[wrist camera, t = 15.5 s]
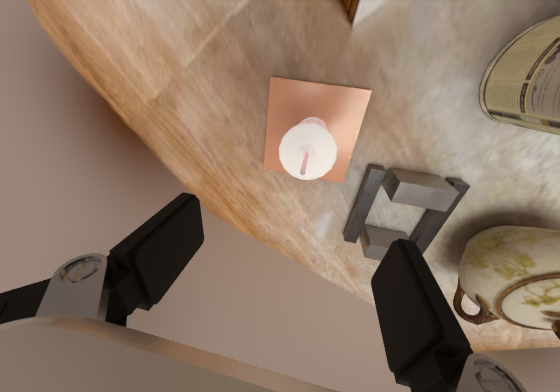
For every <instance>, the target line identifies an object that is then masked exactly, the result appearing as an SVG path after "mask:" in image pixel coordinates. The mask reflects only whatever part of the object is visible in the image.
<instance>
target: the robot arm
mask: <svg viewBox="0 0 560 392" xmlns="http://www.w3.org/2000/svg"><path fill="white" fill-rule="evenodd" d="M203 241H204V234H203V225H202V218H201V210H200V201H199V199H198V198H197V197H196V195H194V194H189V193H181V194H180V195H179V196H178V197H176V198H175V199H174V200H173V201H171V202H170V203H169V204H167V206H165V207H164V208H163V209H161V210H160V211H159V212H158V213H156V214H155V215H154V216H152V217H151V218H150V219H149V220H147V221H146V222H145V223H144V224H142V225H141V226H140V227H139V228H137V229H136V230H135V231H134V232H132V233H131V234H130V235H129V236H127V237H126V238H125V239H124V240H122V241H121V242H120V243H119V244H117V245H116V246H115V247H114V248H113V249H111V250H110V251H109V252H110V254H109V255H108V256H107V257H105V256H104V255H102V254H100V253H91V254H85V255H82V256H78V257H76V258H74V259H72V260H70V261H68V262H66V263H65V264H63V265H62V266H61V267H60V268H59V269H57V270H56V272H55V273H54V275H53V276H52V278H50V279H47V280H43V281H40V282H37V283H33V284H30V285H27V286H24V287H20V288H17V289H13V290H10V291H7V292H4V293H0V392H338V391H335V390H332V389H329V388H325V387H322V386H319V385H316V384H312V383H309V382H306V381H302V380H299V379H296V378H293V377H290V376H287V375H283V374H280V373H277V372H274V371H270V370H267V369H264V368H260V367H257V366H254V365H251V364H247V363H244V362H241V361H238V360H234V359H231V358H227V357H224V356H221V355H218V354H214V353H211V352H208V351H204V350H201V349H198V348H195V347H191V346H188V345H184V344H181V343H178V342H174V341H171V340H167V339H164V338H161V337H158V336H154V335H151V334H147V333H144V332H141V331H137V330H134V329H131V320H132V313H133V311H134V310H135V309H136V308H140V309H143V310H147V311H149V310H150V308H151V307H152V306H153V305H154V304H157V303H158V302H159V301H160V300H161V299H162V297H163V296H164V294H165V293H166V292H167V291H168V289H169V288H170V287H171V285H172V284H173V283H174V281H175V280H176V279H177V277H178V276H179V275H180V273H181V272H182V270H183V269H184V268H185V266H186V265H187V264H188V262H189V261H190V259H191V258H192V257H193V256H194V254H195V253H196V252H197V250H198V249H199V248H200V246H201V245H202V244H203ZM371 286H372V291H373V296H374V300H375V305H376V310H377V314H378V319H379V324H380V328H381V333H382V338H383V342H384V347H385V351H386V356H387V361H388V365H389V369H390V371H391V372H393V373H394V376H395V380H396V383H398V384H401V385H404V386H408V387H410V388H411V392H527V391H526V390H525V388H524V387H523V385H522V384H521V383H520V382H519V381H518V380H517V378H516V377H515V376H514V375H513V374H512V373H511V372H510V371H509V370H507V369H506V368H505V367H504V366H503V365H501V364H500V363H499V362H497V361H495V360H494V359H492V358H490V357H488V356H486V355H484V354H479V353H473V351H472V349H471V347H470V343H469V341H468V339H467V338H466V336H465V334H464V332H463V330H462V328H461V326H460V325H459V323H458V321H457V319H456V317H455V315H454V313H453V311H452V310H451V308H450V306H449V304H448V302H447V300H446V298H445V297H444V295H443V293H442V291H441V289H440V287H439V285H438V284H437V282H436V280H435V278H434V276H433V274H432V272H431V270H430V269H429V267H428V265H427V263H426V261H425V259H424V257H423V256H422V254H421V252H420V250H419V248H418V246H417V244H416V243H415V242H414V241H411V240H406V239H401V238H399V239H397V241H393V242H392V243H391V245H390V247H389V249H388V250H387V252H386V254H385V256H384V257H383V259H382V261H381V263H380V265H379V266H378V268H377V270H376V272H375V273H374V275H373V277H372V280H371Z"/></svg>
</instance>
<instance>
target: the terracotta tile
mask: <svg viewBox="0 0 560 392" xmlns="http://www.w3.org/2000/svg"><path fill="white" fill-rule="evenodd" d="M371 92H372V90H367V89H359V88H352V87H344V86H337V85H329V84H322V83H314V82H307V81H299V80H292V79H284V78H277V77H270V84H269V98H268V112H267V125H266V139H265V152H264V166H263V168H265V169H270V170H276V171H281V172H286V173H289V172H287V171H286V170H285V169H284V167H283V165H282V163H281V161H280V159H279V146H280V144H281V141H282V138H283V136H284V135H285V134H286V133H287V132H288V131H289V130H290V129H291V128H292V127H294V126H296V125H298V124H299V123H300V122H302V121H303V120H304V119H306V118H309V117H316V118H319V119H321V120H322V121H323V122H324V123H325V124H326V126H327V128H328V131H329V132H330V133H331V134H332V135H333V137H334V140H335V143H336V146H337V155H336V161H335V163H334V164H333V166H332V168H331V170H329V171H328V172H327V173H326V174H325V175H323V176H322V177H319V179H324V180H330V181H335V182H341V183H343V181H344V178H345V175H346V172H347V169H348V165H349V162H350V159H351V156H352V153H353V149H354V146H355V143H356V140H357V137H358V134H359V130H360V127H361V124H362V121H363V118H364V114H365V111H366V108H367V105H368V102H369V98H370V95H371Z"/></svg>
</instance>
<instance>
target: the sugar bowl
mask: <svg viewBox="0 0 560 392" xmlns="http://www.w3.org/2000/svg"><path fill="white" fill-rule="evenodd" d="M458 272H459V278H458V286H457V290H456V293H455V296H454V299H453V306H454V309H455V311H456V312H457V314H458V315H459V316H460V317H461V318H463V319H464V320H466V321H468V322H470V323H473V324H476V325H479V324H483V323H486V322H490V321H493V320H499V319H503V320H505V321H507V322H509V323H512V324H514V325H517V326H521V327H525V328H531V329H540V330H553V331H554V333H555V334H556V336H557V337H558V338H559V339H560V231H557V230H552V229H545V228H537V227H518V226H512V225H501V226H495V227H491V228H488V229H485V230H483V231H480V232H479V233H477V234H475V235H474V236H473V237H472V238H471V239H470V240H469V241H468V242H467V244H466V246H465V250H464V253H463V255H462V258H461V261H460V265H459V270H458ZM464 294H466V295H467V296H468V298H469V299H470V300H471V301H473V302H474V303H475V304H476V305H477V306H479V307H480V311H479V313H478V314H477V315H468V314H466V313H465V312H464V311H463V310H462V307H461V301H462V297H463V295H464ZM488 313H489V314H488Z"/></svg>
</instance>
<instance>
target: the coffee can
mask: <svg viewBox="0 0 560 392" xmlns="http://www.w3.org/2000/svg"><path fill="white" fill-rule="evenodd" d="M479 97H480V104H481V107H482V109H483V111H484V113H485V114H486V115H487V116H488V117H490V118H491V119H493V120H495V121H497V122H500V123H505V124H512V125H517V126H521V127H525V128H529V129H533V130H538V131H542V132H546V133H551V134H555V135H560V15H558V16H555V17H551V18H548V19H545V20H543V21H541V22H539V23H537V24H535V25H533V26H531V27H529V28H528V29H526V30H525V31H523V32H522V33H520V34H519V35H517V36H516V37H515V38H514V39H512V40H511V41H510V42H509V43H508V44H507V45H506V46H505V47H504V48H503V49H501V51H500V52H499V53H498V54H497V55H496V57H495V58H494V60H493V61H492V62H491V63H490V65H489V67H488V68H487V70H486V72H485V74H484V76H483V79H482V82H481V86H480V91H479Z"/></svg>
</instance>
